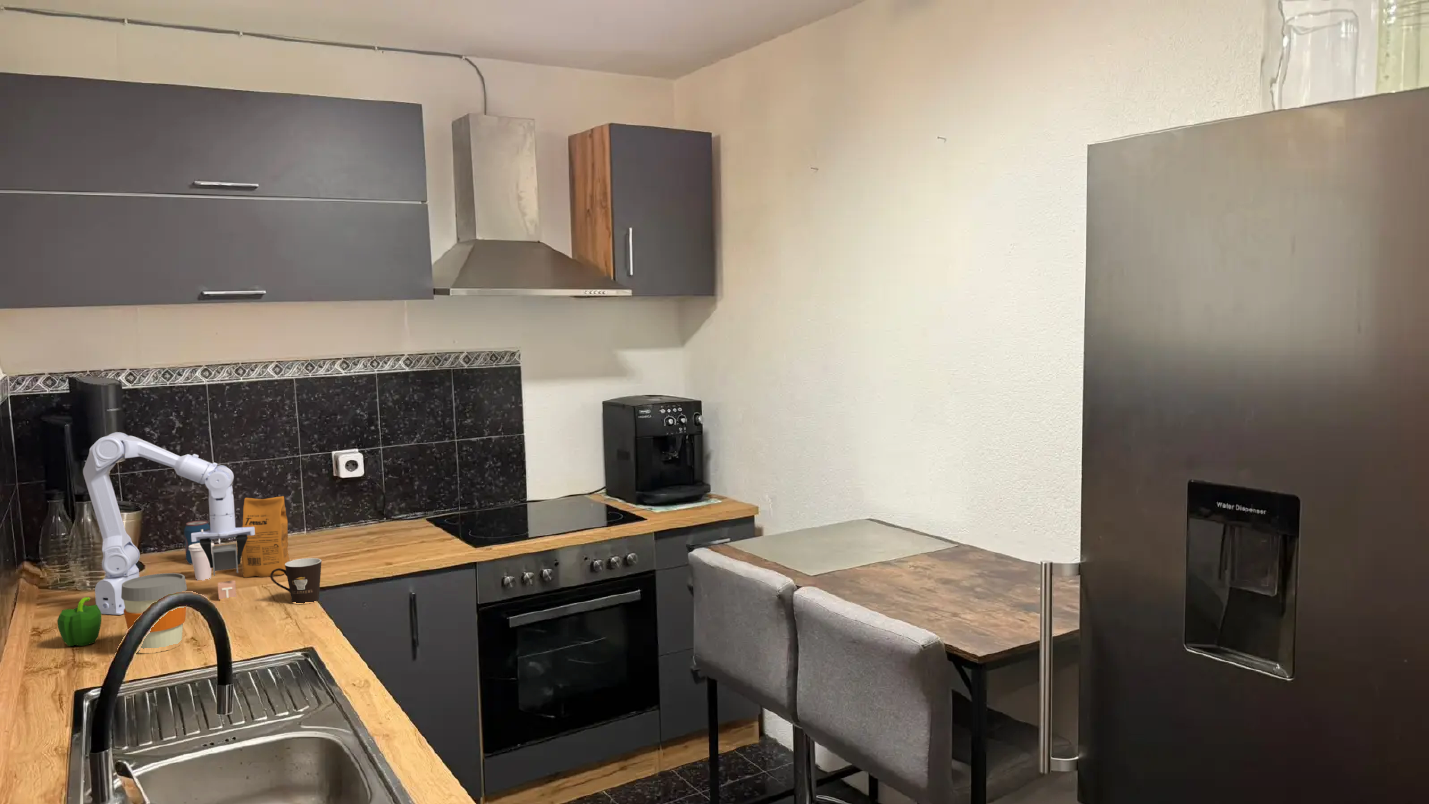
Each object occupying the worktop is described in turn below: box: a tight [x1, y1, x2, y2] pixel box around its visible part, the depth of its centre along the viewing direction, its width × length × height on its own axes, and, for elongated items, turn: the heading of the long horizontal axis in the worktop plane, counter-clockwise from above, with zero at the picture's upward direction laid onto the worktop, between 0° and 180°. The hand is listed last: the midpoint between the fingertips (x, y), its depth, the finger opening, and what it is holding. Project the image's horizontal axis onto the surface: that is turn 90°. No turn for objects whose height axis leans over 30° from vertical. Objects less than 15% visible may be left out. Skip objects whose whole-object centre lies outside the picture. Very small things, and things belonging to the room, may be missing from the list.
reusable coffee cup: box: [121, 572, 188, 652], centre depth 210 cm, size 13×13×15 cm
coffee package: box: [241, 495, 291, 579], centre depth 269 cm, size 10×12×22 cm
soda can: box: [183, 520, 211, 565], centre depth 284 cm, size 7×7×12 cm
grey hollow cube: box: [212, 543, 239, 577], centre depth 246 cm, size 6×6×6 cm
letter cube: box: [217, 580, 237, 600], centre depth 246 cm, size 4×4×4 cm
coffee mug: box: [270, 557, 322, 603], centre depth 243 cm, size 12×9×10 cm
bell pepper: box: [56, 596, 102, 647], centre depth 213 cm, size 8×8×10 cm
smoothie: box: [188, 529, 215, 581], centre depth 265 cm, size 6×6×14 cm
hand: (225, 565), depth 246 cm, fingers closed on grey hollow cube, 6 cm apart
